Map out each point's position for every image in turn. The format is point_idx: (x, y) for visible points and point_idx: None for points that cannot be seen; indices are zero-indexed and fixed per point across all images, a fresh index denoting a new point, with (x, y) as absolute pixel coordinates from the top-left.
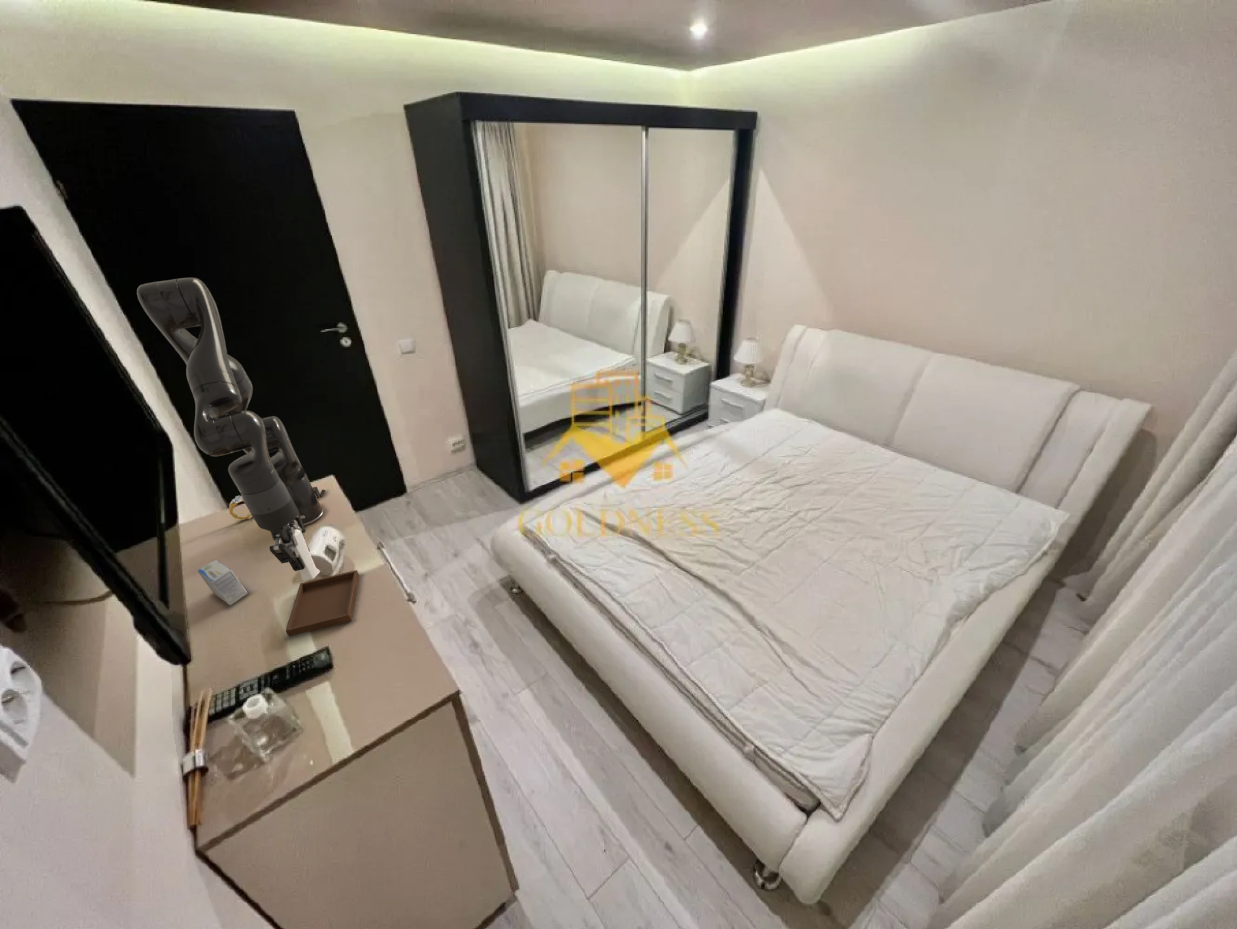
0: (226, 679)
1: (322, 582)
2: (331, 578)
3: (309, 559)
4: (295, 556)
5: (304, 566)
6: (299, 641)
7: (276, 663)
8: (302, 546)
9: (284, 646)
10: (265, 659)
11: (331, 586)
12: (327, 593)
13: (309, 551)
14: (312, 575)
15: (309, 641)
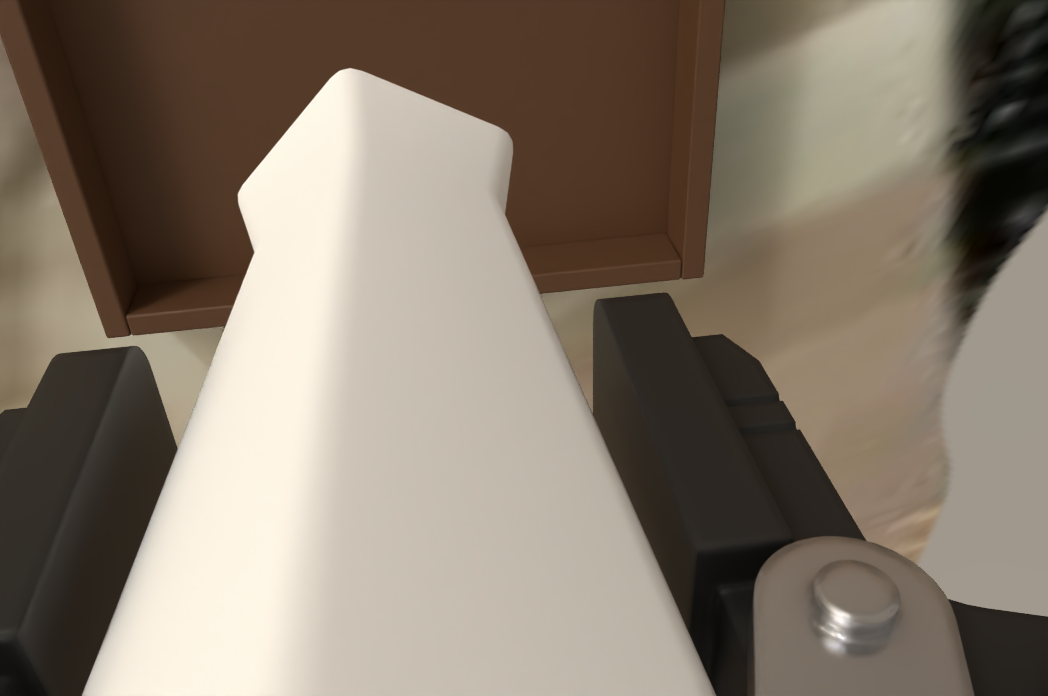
0: (873, 480)
1: (80, 135)
2: (39, 40)
3: (420, 269)
4: (937, 631)
5: (651, 303)
6: (764, 147)
7: (904, 248)
8: (485, 619)
9: (764, 244)
10: (827, 329)
11: (132, 26)
12: (239, 44)
13: (99, 355)
14: (491, 154)
15: (803, 62)
